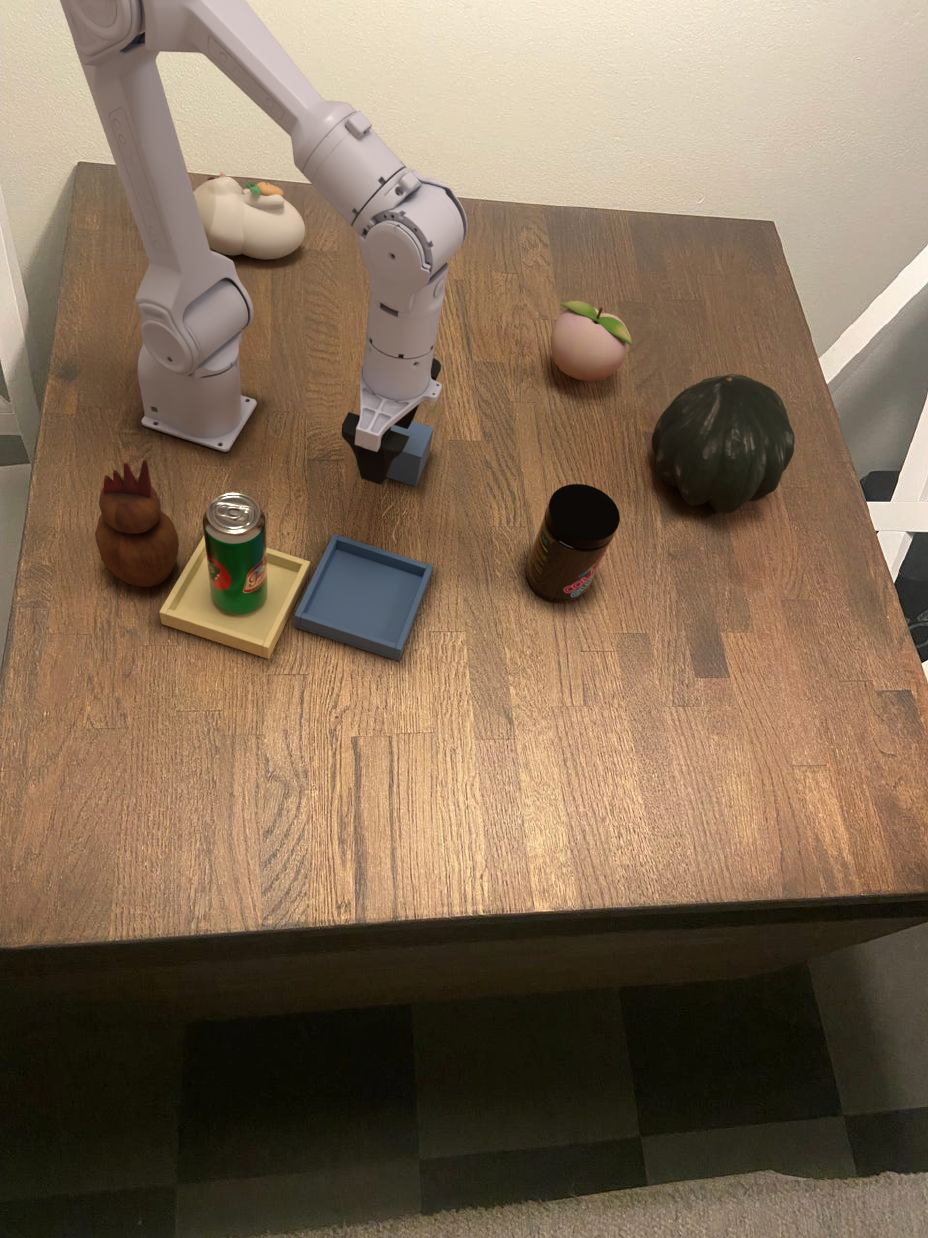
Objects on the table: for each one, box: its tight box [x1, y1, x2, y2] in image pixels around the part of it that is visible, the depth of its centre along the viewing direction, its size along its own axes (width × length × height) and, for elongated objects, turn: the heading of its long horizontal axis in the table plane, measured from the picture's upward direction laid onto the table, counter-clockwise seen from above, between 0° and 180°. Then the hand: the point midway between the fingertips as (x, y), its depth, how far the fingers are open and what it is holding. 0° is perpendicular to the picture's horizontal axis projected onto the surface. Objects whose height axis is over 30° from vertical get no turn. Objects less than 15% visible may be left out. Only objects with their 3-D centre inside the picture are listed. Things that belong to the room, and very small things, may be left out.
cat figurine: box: [193, 171, 306, 260], centre depth 109 cm, size 10×8×15 cm
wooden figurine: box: [94, 459, 180, 588], centre depth 79 cm, size 7×6×15 cm
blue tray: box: [293, 533, 434, 662], centre depth 86 cm, size 10×10×2 cm
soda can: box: [202, 492, 268, 615], centre depth 80 cm, size 5×5×12 cm
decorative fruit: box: [550, 300, 633, 383], centre depth 105 cm, size 9×8×10 cm
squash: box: [651, 373, 796, 514], centre depth 99 cm, size 14×15×15 cm
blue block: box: [386, 420, 434, 487], centre depth 95 cm, size 4×4×4 cm
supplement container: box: [525, 483, 621, 603], centre depth 88 cm, size 7×7×10 cm
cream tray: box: [158, 535, 311, 660], centre depth 84 cm, size 10×10×2 cm
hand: (385, 450), depth 86 cm, fingers open, 7 cm apart
